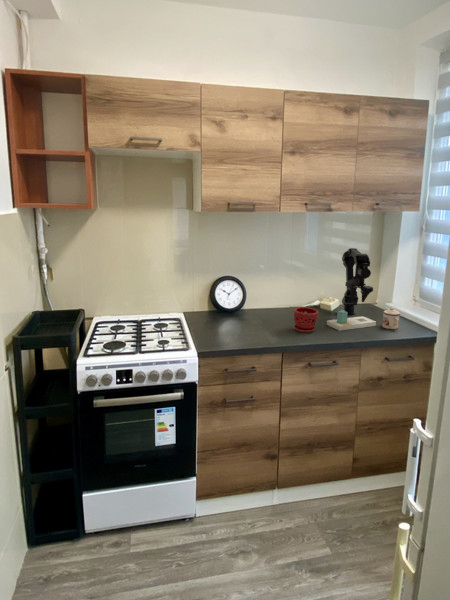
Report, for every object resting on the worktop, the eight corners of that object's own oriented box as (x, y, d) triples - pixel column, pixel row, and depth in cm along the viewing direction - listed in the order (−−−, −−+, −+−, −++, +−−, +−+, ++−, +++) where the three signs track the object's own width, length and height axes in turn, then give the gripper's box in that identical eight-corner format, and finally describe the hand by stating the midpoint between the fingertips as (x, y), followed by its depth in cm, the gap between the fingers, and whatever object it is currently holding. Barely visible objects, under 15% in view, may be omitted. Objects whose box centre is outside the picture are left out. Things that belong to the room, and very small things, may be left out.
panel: (326, 324, 248) (327, 320, 248) (362, 320, 258) (362, 316, 257) (339, 330, 238) (339, 326, 237) (375, 325, 247) (376, 321, 246)
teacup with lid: (378, 324, 249) (380, 306, 246) (393, 324, 250) (395, 305, 247) (389, 331, 237) (391, 311, 234) (404, 330, 238) (406, 311, 236)
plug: (336, 325, 246) (337, 309, 244) (342, 325, 248) (343, 309, 245) (340, 327, 243) (342, 311, 240) (346, 327, 244) (347, 311, 242)
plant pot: (298, 334, 230) (299, 313, 227) (290, 327, 243) (291, 307, 240) (320, 333, 233) (322, 312, 230) (311, 326, 245) (312, 306, 242)
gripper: (339, 273, 254) (337, 297, 258) (359, 278, 237) (356, 305, 241) (354, 271, 258) (352, 296, 262) (374, 277, 241) (372, 303, 245)
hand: (357, 300), depth 253 cm, fingers open, 9 cm apart
